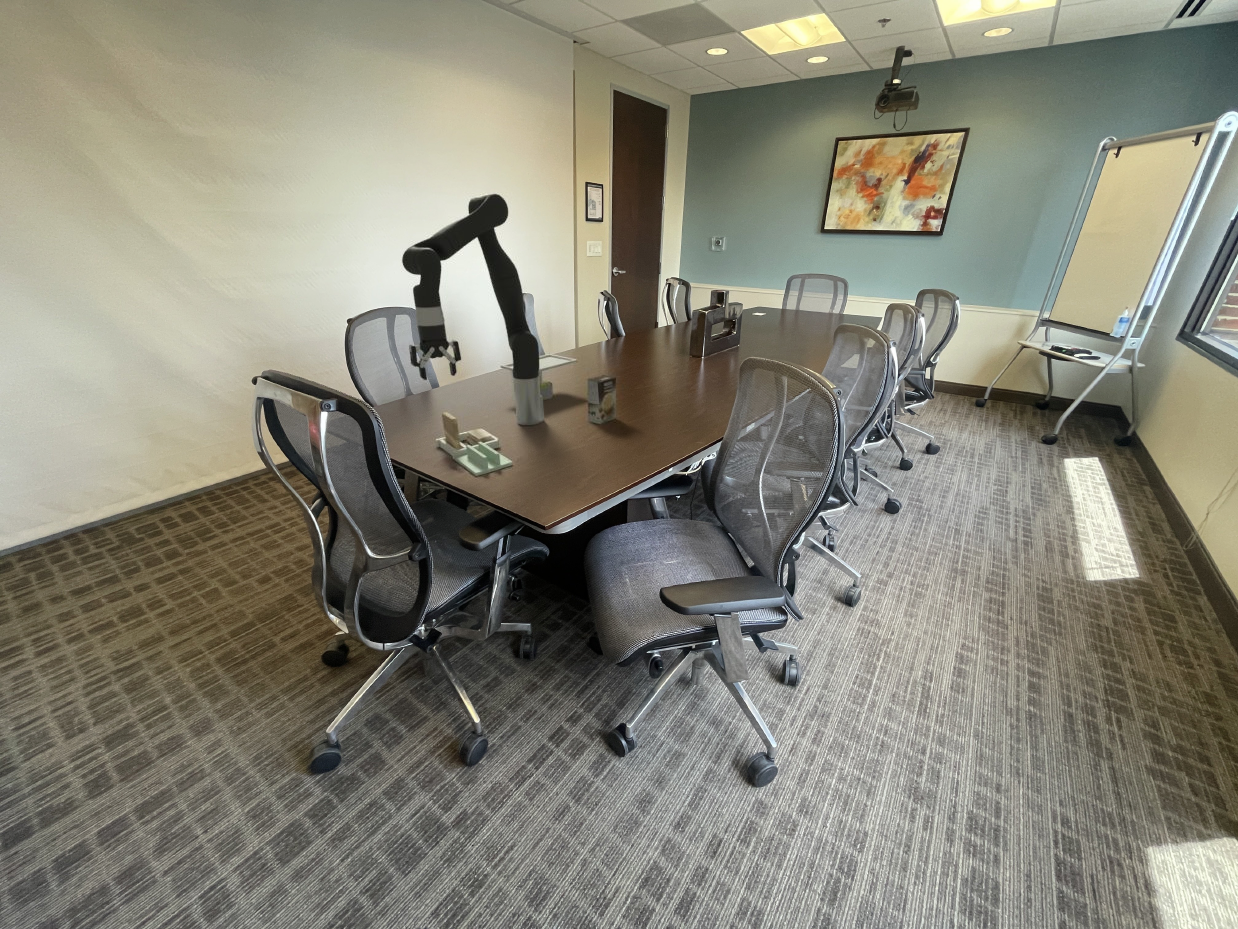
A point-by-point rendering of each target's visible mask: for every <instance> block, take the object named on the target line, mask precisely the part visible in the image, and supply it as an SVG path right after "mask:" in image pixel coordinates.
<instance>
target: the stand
mask: <svg viewBox="0 0 1238 929" xmlns="http://www.w3.org/2000/svg"><path fill="white" fill-rule="evenodd" d="M465 446H466V449H467V455H464V456H460V457H457V458H455V459H456V460H455V462H457V463H458V464H459V465H461V466H462V467H463V468H465V469H466V470H468V471H469V472H470V473H471V474H473V475H474V476H476V477H477V476H480V475H484V474H487V473H490V472H494V471H497V470H500V469H505V468H507V467H511V466H513V465H514V463H513V461H512V460H510V459H509V458H507V457H506V456H504V455H502V454H501V453H499V452H498V451H496V450H495V449H492V448H490V447H489V446H487V445H486V444H484V443H482V442H478V446H479V451H478V450H476V449H475V448H473V447H472V446H473V445H471V444H467V445H465Z"/></svg>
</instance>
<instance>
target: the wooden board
mask: <svg viewBox="0 0 1238 929" xmlns="http://www.w3.org/2000/svg"><path fill="white" fill-rule="evenodd" d="M441 419H442V424H443V430H444V437H445V438H446V442H447V443H448V444H450V445H451V446H452V447H454V448H455V449H457V450H459V449H461V445H460V442H461V441H460V438H459V426H458V418H457V417H455V416H454V415H452V414H451V413H449V412H447V411H445V412H441Z"/></svg>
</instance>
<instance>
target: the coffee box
mask: <svg viewBox="0 0 1238 929" xmlns="http://www.w3.org/2000/svg"><path fill="white" fill-rule="evenodd" d="M616 394H617V377H616V376H613V375H606V374H602V375H597V376H595V377H590V378H587V420H588V421H589V422H591V423H594V424H597V425H602V424H604V423H607V422H609V421H612V420H615V419H616V418H617V417H616V416H617V415H616V411H617V407H616V404H617V400H616V399H617V397H616V396H617V395H616Z"/></svg>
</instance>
